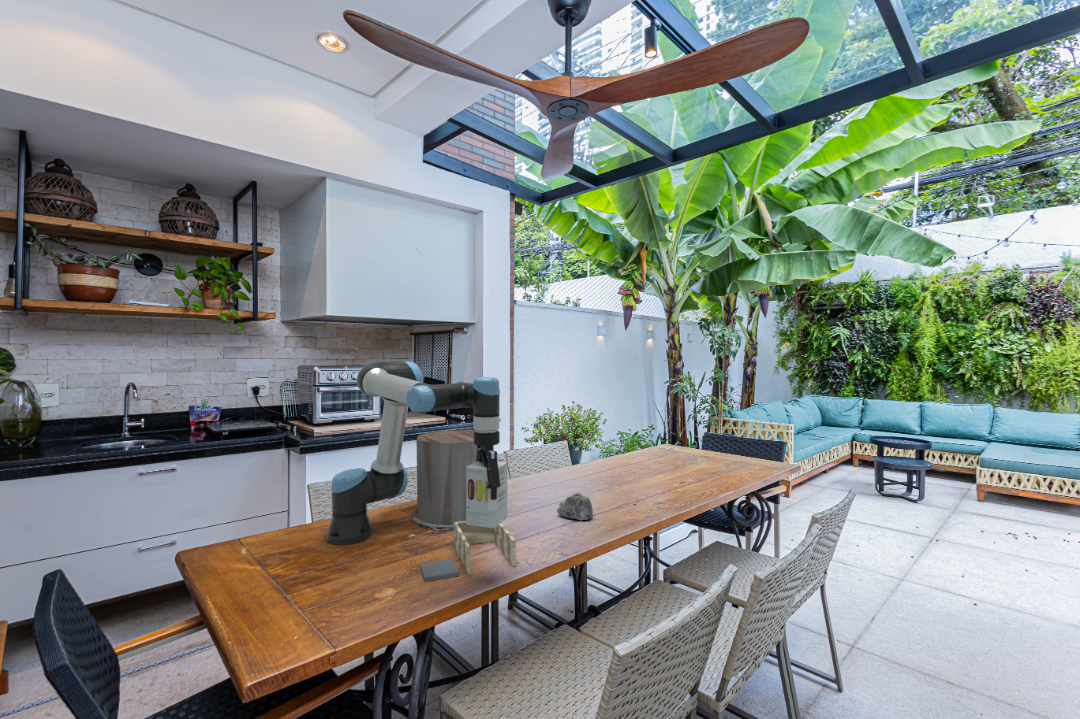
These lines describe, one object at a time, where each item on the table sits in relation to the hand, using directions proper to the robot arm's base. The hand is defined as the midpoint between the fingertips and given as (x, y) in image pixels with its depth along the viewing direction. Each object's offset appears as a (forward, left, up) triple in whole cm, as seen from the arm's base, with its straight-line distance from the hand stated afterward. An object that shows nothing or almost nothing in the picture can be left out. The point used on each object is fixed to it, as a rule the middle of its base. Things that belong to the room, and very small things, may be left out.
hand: (486, 503), depth 141 cm
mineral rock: (-37, +45, -22) cm, 63 cm away
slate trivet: (-9, -13, -22) cm, 27 cm away
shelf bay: (-15, +2, -22) cm, 27 cm away
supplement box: (0, 0, -5) cm, 5 cm away
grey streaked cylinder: (-58, +1, -22) cm, 62 cm away
